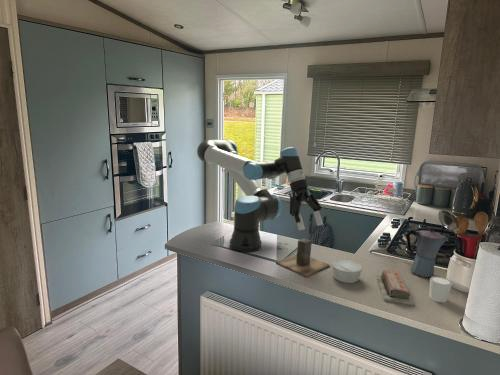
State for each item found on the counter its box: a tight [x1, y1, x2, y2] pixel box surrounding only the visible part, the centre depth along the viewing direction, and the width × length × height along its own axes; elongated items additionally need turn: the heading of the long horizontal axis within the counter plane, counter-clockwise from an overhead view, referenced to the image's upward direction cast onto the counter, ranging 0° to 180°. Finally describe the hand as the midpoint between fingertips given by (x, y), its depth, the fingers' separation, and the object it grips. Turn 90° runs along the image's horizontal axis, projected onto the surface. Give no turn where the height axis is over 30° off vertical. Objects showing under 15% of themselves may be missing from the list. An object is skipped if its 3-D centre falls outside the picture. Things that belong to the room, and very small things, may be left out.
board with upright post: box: [275, 238, 331, 278], centre depth 144 cm, size 16×16×11 cm
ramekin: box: [331, 259, 363, 284], centre depth 135 cm, size 11×11×5 cm
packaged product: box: [376, 269, 415, 306], centre depth 127 cm, size 18×5×10 cm
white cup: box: [428, 276, 453, 303], centre depth 122 cm, size 7×7×7 cm
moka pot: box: [405, 227, 449, 279], centre depth 141 cm, size 10×15×20 cm, turn 78°
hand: (311, 227), depth 149 cm, fingers open, 13 cm apart
